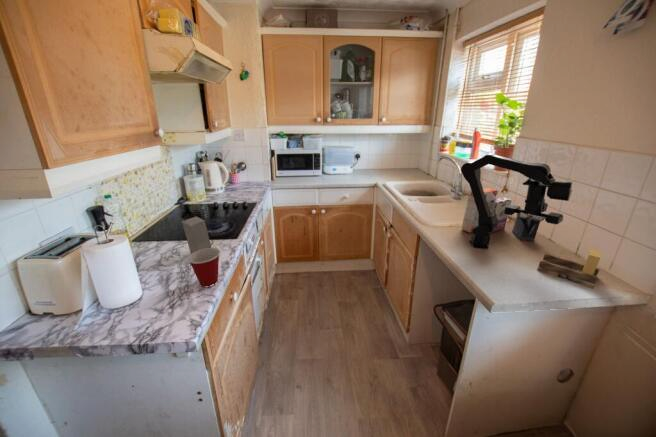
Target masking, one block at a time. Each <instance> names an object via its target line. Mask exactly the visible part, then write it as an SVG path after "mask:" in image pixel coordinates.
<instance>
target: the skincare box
mask: <svg viewBox="0 0 656 437" xmlns="http://www.w3.org/2000/svg"><path fill="white" fill-rule="evenodd" d="M181 221H182V222H181V223H182V226H183V229H184V233H185V238H186V240H187V244H188V248H189V252H190V254H192V253H194V252H196V251H198V250H202V249H207V248H212V246H211V241H210V237H209V233H208V228H207V225H206V220H203V219H202V218H200V217H199V216H194V217H191V218H188V219H184V220H181Z"/></svg>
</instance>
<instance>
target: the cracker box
mask: <svg viewBox="0 0 656 437" xmlns="http://www.w3.org/2000/svg"><path fill="white" fill-rule="evenodd" d="M483 191H484V194H485V197H486V200H487V203H488V207H489V205H490V201H491V200H495V199H496V198H498V196H497V195H498V193H499V190H498V189H495V188H491V187H483ZM478 215H479V214H478V210H477V207H476V204H475V201H474V197H473V194H472V191H471V190H469V193H468V197H467V202H466V206H465V212H464V217H463V220H462V225H461V230H462V231H465V232H467V233H469V234H473V232H472V229H474V228H475V227H476V226H478Z"/></svg>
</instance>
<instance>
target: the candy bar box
mask: <svg viewBox="0 0 656 437" xmlns="http://www.w3.org/2000/svg"><path fill="white" fill-rule="evenodd" d="M512 200H513V199H511V198H508V197H504V196H502V197H496V199H495V200H491V201H490V205H489V210H490V211H491V213H492V214H494V213H496V215H497V219H498V221H499V222H498V225H497V227H496V228H495V229H494V230H493V231H492V232H490V233H489V234H492V233H496V232H501V231H503V230H505V229H506V225H507V224H506V223H507V220H508V217H509V215H507V214H504V210H505V208H506V207H508V206H510V205H512V204H511V203H512Z"/></svg>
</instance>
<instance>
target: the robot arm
mask: <svg viewBox="0 0 656 437" xmlns="http://www.w3.org/2000/svg"><path fill="white" fill-rule="evenodd" d="M488 165H492V166H494V167H498V168H502V169H504V170H509V171H512V172H516V173H519V174H520V175H522V176H524V177H526V178H528V179H527V180H526V181H524V182H522V185H523V186H527V193H526V196H525V197H526V198H525V199H524V209H522V208H521V206H518V205H513V204H510V206H508V207H506V208H505V210H504V214H507V215H508V216H513V215H515V214H517V213H518V214H520V217H519V219H521V220H522V222H523V224H524V227H525V230H526V232H527V234H530V233H531V232H532V230H533V229H534V227H535V226H536V225H537V223H540V224H541V222H542V221H545V222H546V223H547V224H551V225H560V224H561V223H562V222H564V215H563V214H562V213H558V212H552V211H551V212H549V213H546V212H547V209H548V206H549V203H547V202H546V199H545V196H547V197H548V198H549V200H557V201H566V202H569V201H570V198H571V196H572V191H573V190H572V187H573V182H572V181H556V179H555V178H554V176H553V175H552V170H551V167H550V165H548V164H546V163H540V162H528V161H527V162H525V161H521V160H516V159H512V158H509V157H505V156H503V155H502V156H501V155H498V154H495V153H488V154H485V155H483V157H481V158H478V159H477V160H471V161H470V160H469V161H468V162H466V163H463V164H462V166H461V167H460V172H461V174H462V176H463V178H464V180H465V181H467V183H468V184H469V187H470V191H472V194H473V197H474V201H475V204H476V207H477V210H478V214H479V215H478V226H476V227H475V228H474V229H472V232H473V233H471V238H470V240H469V241H468V242H469V243H470V244H471V246H472V247H473V249H474V248H475V249H489V244H490V240H491V235H490V234H491V233H490V232H492V231H493V230H494V229H495V228H496V227H497V225H498V222H499V221H498V219H497V215H496V213H494V214H492V213H491V211H490V210H489V207H488V203H487V200H486V197H485V194H484V191H483V188H484V187H483V184H482V182H481V176H482V175H481V174H482V172H481V171H482V170H481V168H483V167H486V166H488ZM544 212H545V213H544ZM532 216H533V218H534V219H532ZM531 219H532V220H531Z"/></svg>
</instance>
